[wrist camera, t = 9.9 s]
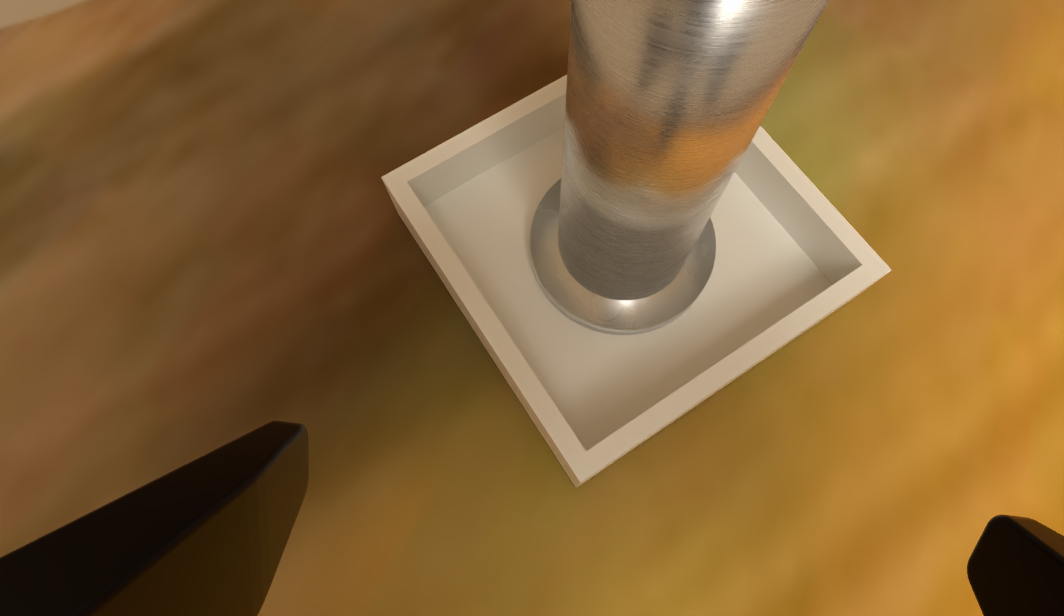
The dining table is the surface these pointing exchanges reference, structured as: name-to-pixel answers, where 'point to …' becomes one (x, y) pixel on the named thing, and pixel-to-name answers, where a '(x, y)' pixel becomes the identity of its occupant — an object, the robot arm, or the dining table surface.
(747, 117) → the stop pin
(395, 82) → the dining table surface
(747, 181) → the tray
